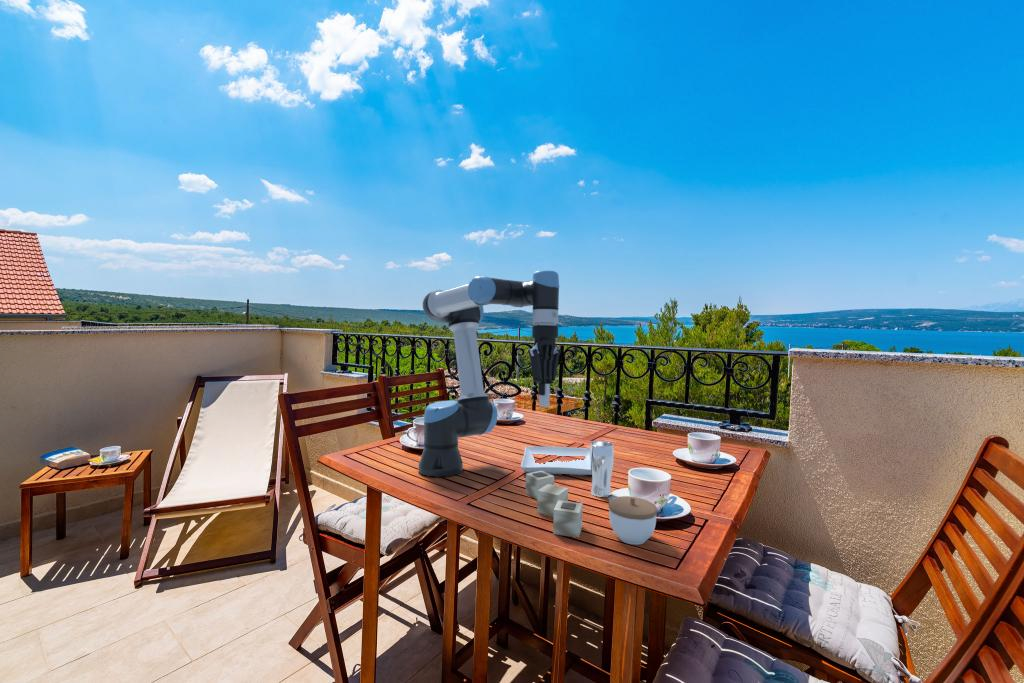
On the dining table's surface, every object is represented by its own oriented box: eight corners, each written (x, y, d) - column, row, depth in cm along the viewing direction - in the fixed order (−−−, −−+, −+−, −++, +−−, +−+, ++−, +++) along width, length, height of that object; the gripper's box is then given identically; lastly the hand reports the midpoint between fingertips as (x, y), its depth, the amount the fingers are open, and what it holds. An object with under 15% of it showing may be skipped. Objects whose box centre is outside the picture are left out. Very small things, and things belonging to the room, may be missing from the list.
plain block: (537, 513, 107) (537, 490, 107) (547, 505, 112) (548, 483, 112) (557, 518, 104) (558, 495, 104) (567, 510, 109) (568, 488, 109)
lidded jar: (648, 528, 99) (649, 489, 99) (663, 551, 88) (663, 508, 88) (604, 526, 100) (604, 488, 100) (613, 549, 89) (614, 506, 89)
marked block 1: (525, 493, 121) (525, 473, 121) (541, 489, 124) (542, 469, 124) (537, 500, 116) (537, 479, 116) (553, 496, 119) (554, 475, 119)
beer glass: (595, 499, 117) (596, 447, 116) (585, 490, 123) (585, 441, 123) (617, 497, 118) (618, 445, 118) (605, 488, 125) (606, 440, 125)
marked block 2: (553, 534, 96) (553, 508, 96) (557, 523, 101) (558, 499, 101) (578, 538, 94) (579, 512, 94) (582, 526, 100) (582, 502, 100)
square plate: (593, 457, 160) (594, 447, 160) (602, 481, 133) (602, 469, 133) (525, 454, 163) (525, 444, 163) (519, 477, 136) (520, 465, 136)
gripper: (541, 323, 110) (540, 410, 110) (568, 325, 120) (567, 405, 120) (520, 324, 115) (519, 407, 116) (548, 325, 125) (547, 402, 125)
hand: (544, 406), depth 118 cm, fingers closed
